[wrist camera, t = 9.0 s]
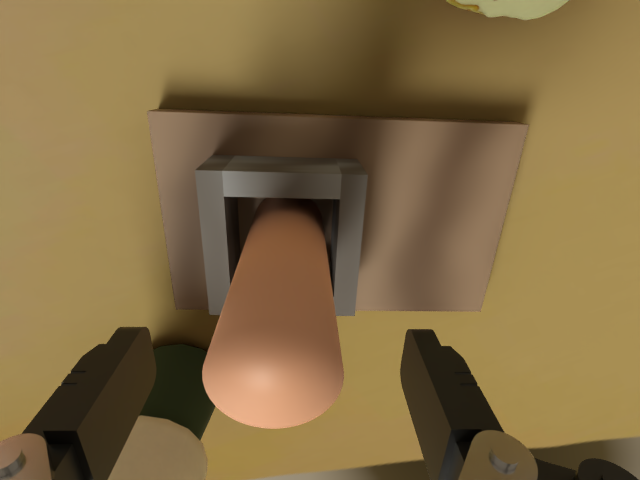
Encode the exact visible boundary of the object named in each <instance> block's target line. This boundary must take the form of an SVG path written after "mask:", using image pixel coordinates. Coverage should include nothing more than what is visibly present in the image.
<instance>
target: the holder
mask: <svg viewBox="0 0 640 480" xmlns="http://www.w3.org/2000/svg"><path fill="white" fill-rule="evenodd" d="M147 115H148V122H149V128H150V135H151V142H152V149H153V156H154V163H155V170H156V177H157V183H158V190H159V197H160V204H161V211H162V218H163V225H164V232H165V239H166V245H167V252H168V259H169V266H170V273H171V280H172V287H173V294H174V300H175V307H176V309H198V310H209V315H221V312H222V309H223V306H224V303H225V300H226V297H227V294H228V291H229V288H230V285H231V283H232V280H233V277H234V274H235V271H236V268H237V265H238V262H239V259H240V256H241V254H242V251H243V248H244V245H245V242H246V239H247V236H248V233H249V230H250V227H251V224H252V222H253V219H254V216H255V213H256V210H257V208H258V207H259V205H260V204H261V203H262V201H263V200H265V199H266V198H304V199H311V200H312V201H313V202H314V203H315V204H316V205H317V207H318V208H319V210H320V212H321V215H322V221H323V228H324V235H325V242H326V249H327V256H328V263H329V271H330V278H331V285H332V292H333V299H334V306H335V313H336V316H355V311H480V312H481V308H482V304H483V300H484V296H485V293H486V289H487V285H488V281H489V277H490V273H491V269H492V266H493V262H494V258H495V254H496V250H497V246H498V242H499V239H500V235H501V231H502V227H503V223H504V219H505V216H506V212H507V208H508V204H509V200H510V196H511V192H512V189H513V185H514V181H515V177H516V173H517V169H518V165H519V162H520V158H521V154H522V150H523V146H524V142H525V138H526V135H527V131H528V127H529V125H527V124H522V123H518V122H507V121H480V120H452V119H425V118H397V117H370V116H342V115H315V114H287V113H260V112H232V111H205V110H177V109H155V110H150V111H147Z"/></svg>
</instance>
